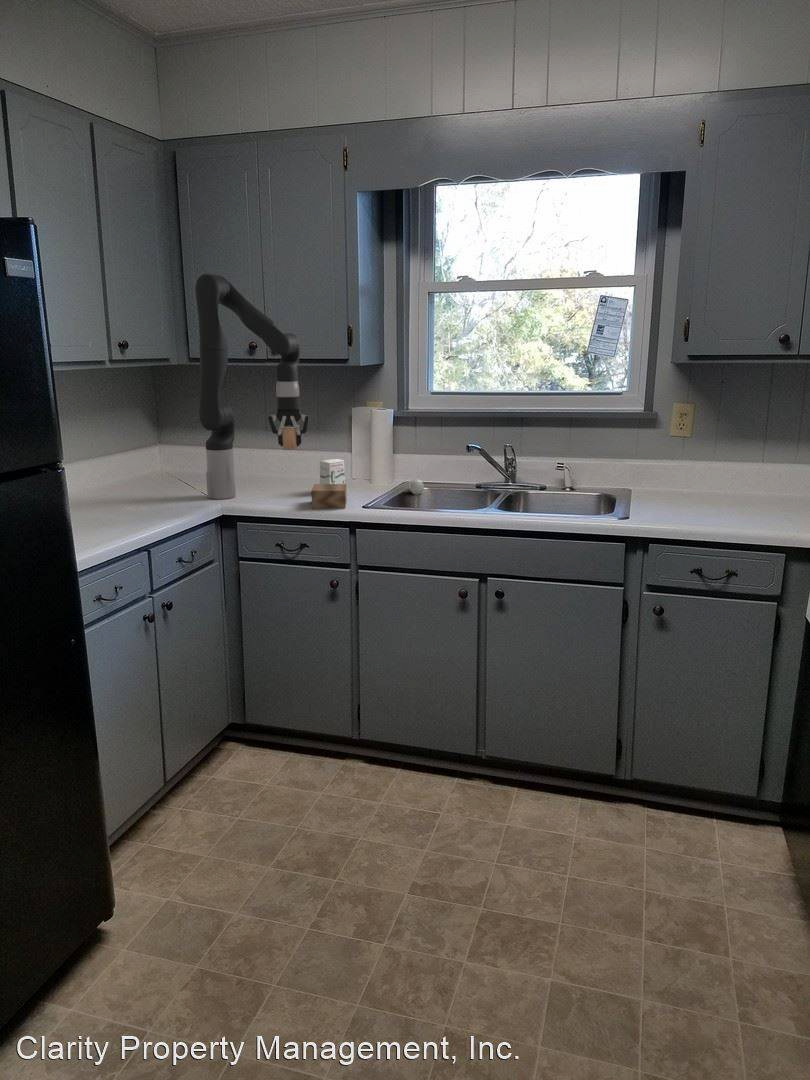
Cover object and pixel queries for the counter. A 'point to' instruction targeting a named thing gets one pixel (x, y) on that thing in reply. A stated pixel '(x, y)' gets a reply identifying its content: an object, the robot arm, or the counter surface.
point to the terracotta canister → (289, 438)
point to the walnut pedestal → (328, 496)
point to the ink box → (332, 471)
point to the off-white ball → (416, 486)
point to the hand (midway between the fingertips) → (290, 445)
